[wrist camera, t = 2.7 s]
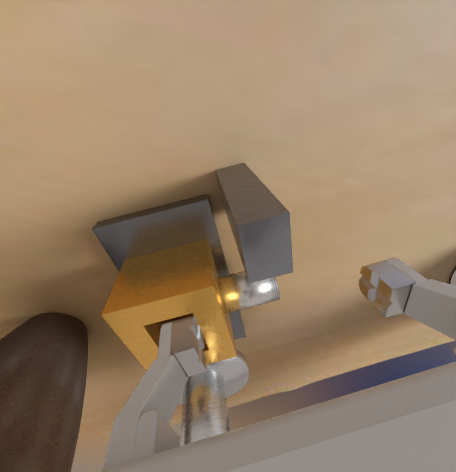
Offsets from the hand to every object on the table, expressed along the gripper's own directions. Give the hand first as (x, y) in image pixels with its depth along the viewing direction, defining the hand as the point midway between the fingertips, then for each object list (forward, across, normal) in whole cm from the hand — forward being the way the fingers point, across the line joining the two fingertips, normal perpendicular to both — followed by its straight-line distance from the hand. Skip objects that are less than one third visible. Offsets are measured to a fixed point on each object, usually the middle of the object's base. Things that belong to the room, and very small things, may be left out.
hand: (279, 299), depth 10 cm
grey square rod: (+15, -1, 0) cm, 16 cm away
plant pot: (+16, +27, +13) cm, 35 cm away
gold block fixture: (+16, +6, +12) cm, 21 cm away
